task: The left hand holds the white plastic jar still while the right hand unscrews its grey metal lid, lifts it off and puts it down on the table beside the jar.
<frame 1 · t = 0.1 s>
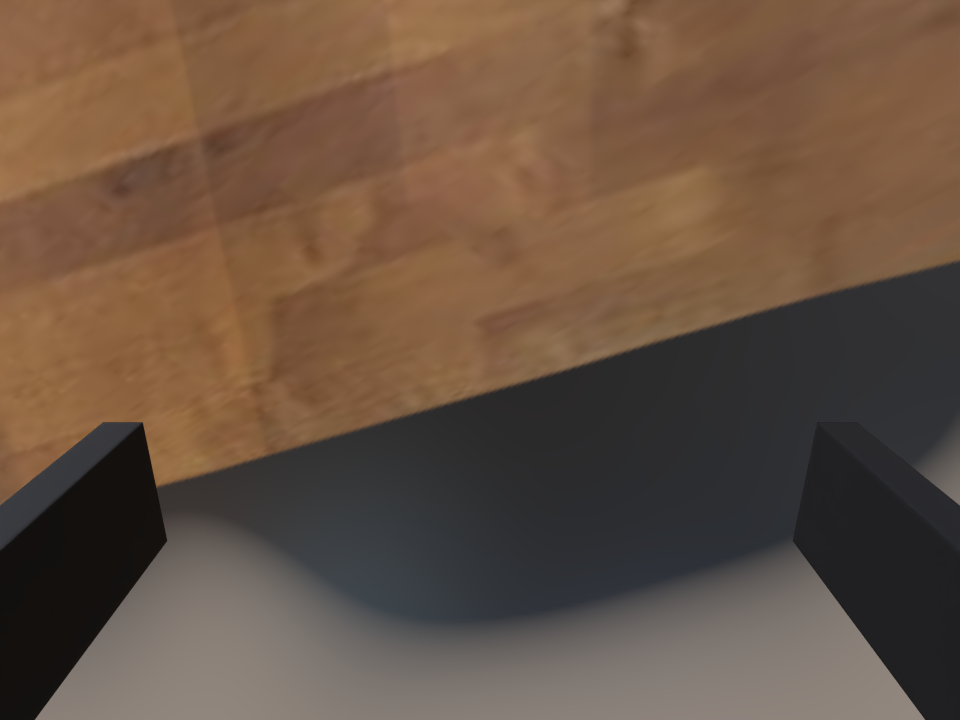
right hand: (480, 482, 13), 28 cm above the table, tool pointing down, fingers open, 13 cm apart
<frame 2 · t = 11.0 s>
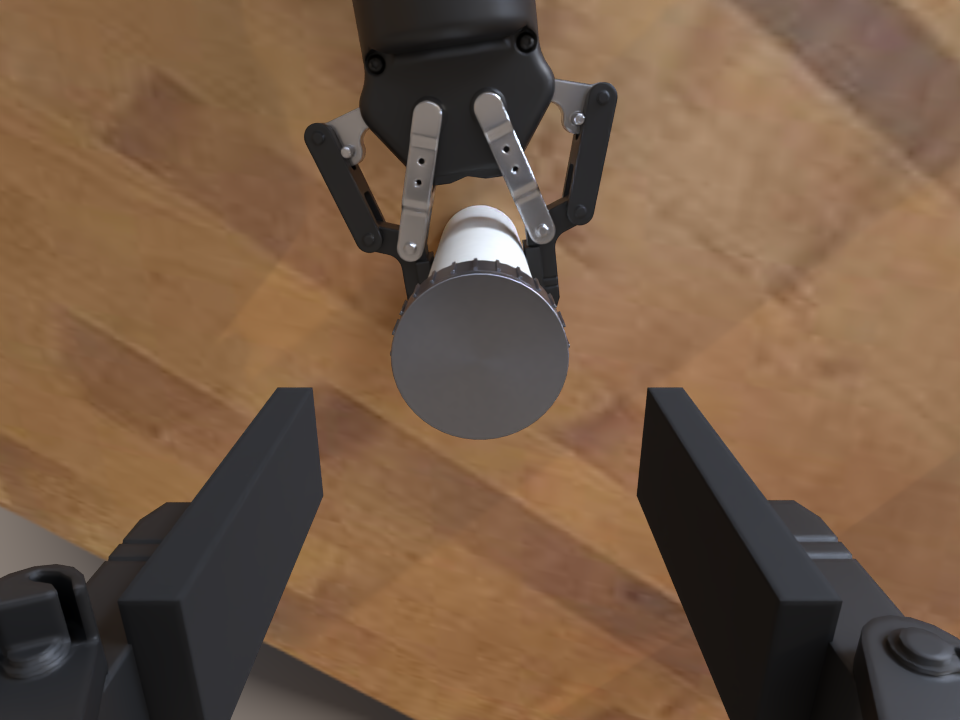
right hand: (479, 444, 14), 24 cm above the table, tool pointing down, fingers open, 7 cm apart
left hand: (487, 322, 32), fingers closed on jar, 4 cm apart
lid: (479, 356, 19), point 18 cm above the table, screwed on, not yet turned
jar: (480, 244, 37), on the table, touching left hand
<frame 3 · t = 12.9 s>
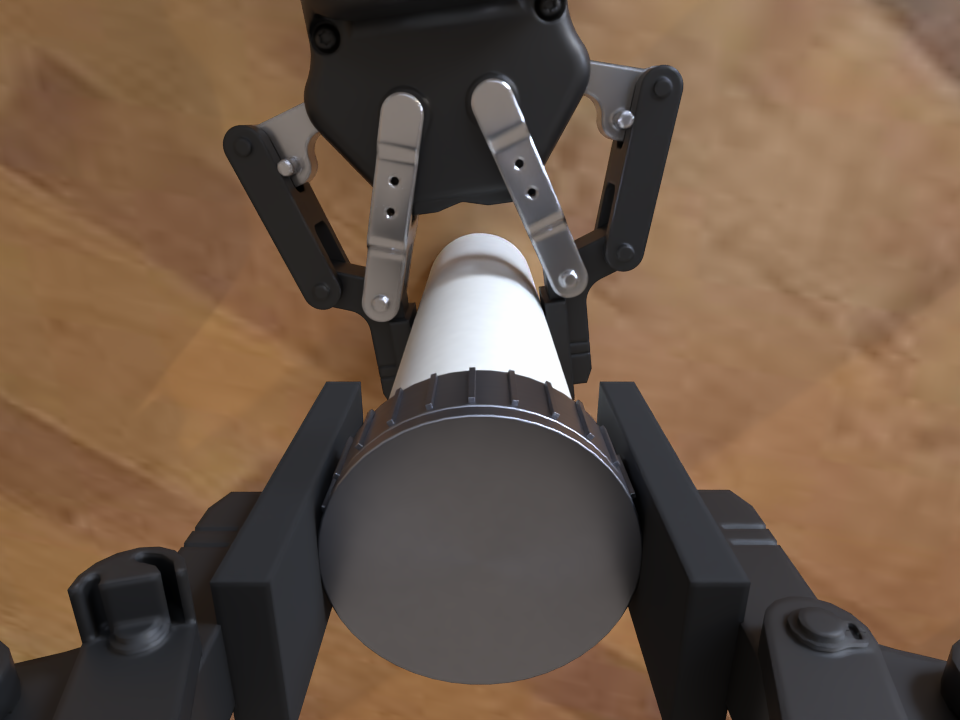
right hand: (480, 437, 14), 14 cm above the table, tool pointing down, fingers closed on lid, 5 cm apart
lid: (480, 549, 11), point 18 cm above the table, screwed on, not yet turned, touching right hand
jar: (480, 284, 28), on the table, touching left hand
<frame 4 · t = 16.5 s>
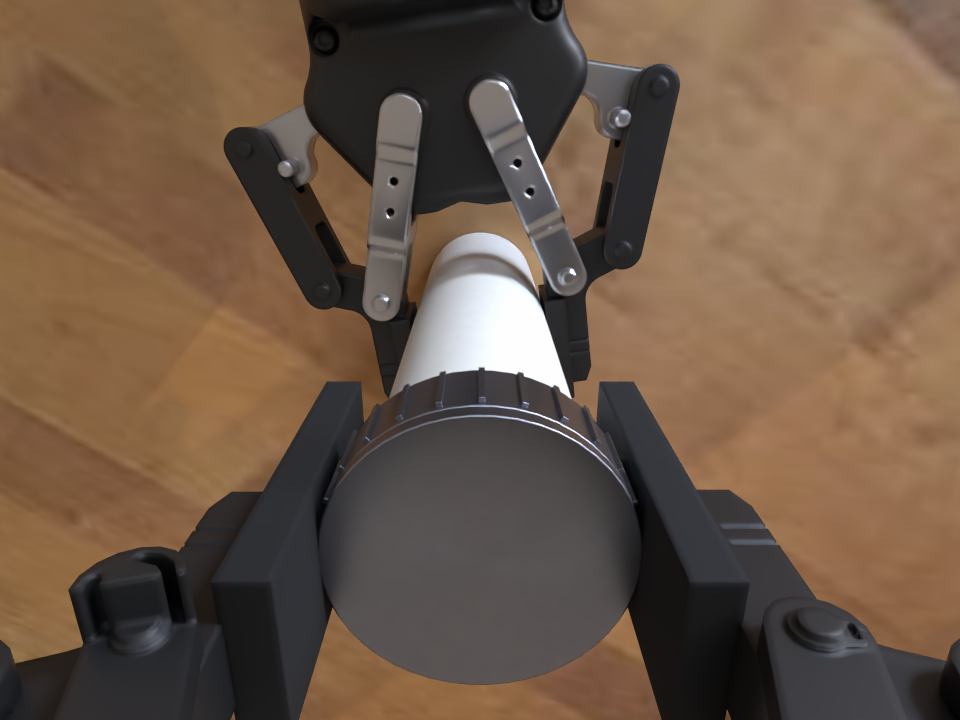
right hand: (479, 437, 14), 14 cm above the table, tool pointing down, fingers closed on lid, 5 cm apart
lid: (480, 549, 11), point 18 cm above the table, turned 111° so far, risen 0.2 cm, still on its thread, touching right hand
jar: (480, 283, 28), on the table, touching left hand
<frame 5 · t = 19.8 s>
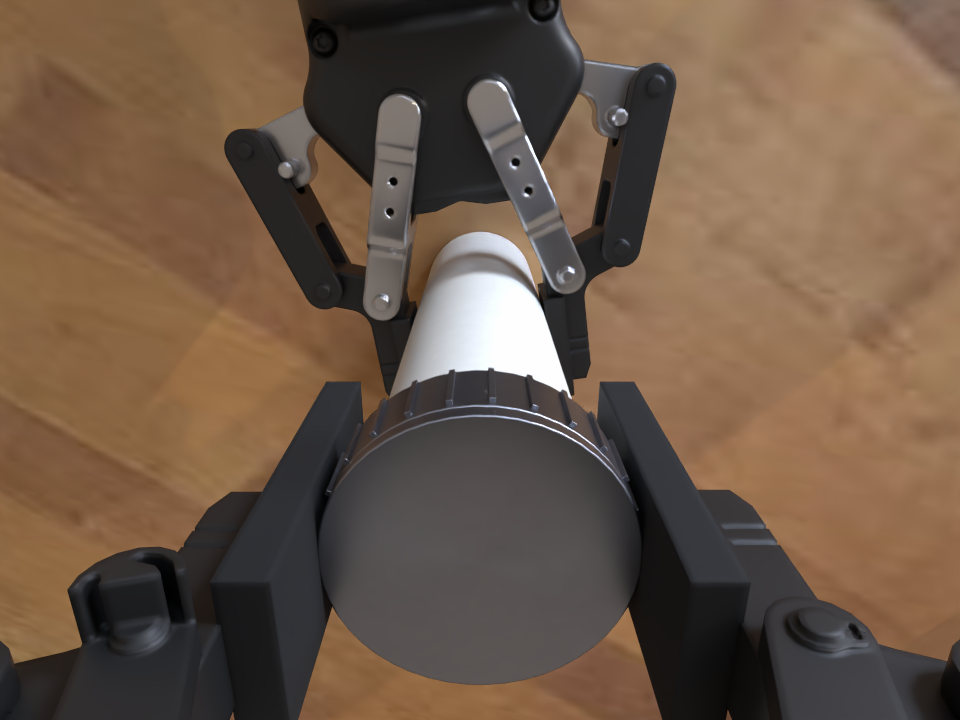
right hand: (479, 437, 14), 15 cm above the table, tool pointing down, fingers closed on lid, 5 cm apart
lid: (480, 549, 11), point 19 cm above the table, turned 223° so far, risen 0.3 cm, still on its thread, touching right hand
jar: (480, 282, 28), on the table, touching left hand
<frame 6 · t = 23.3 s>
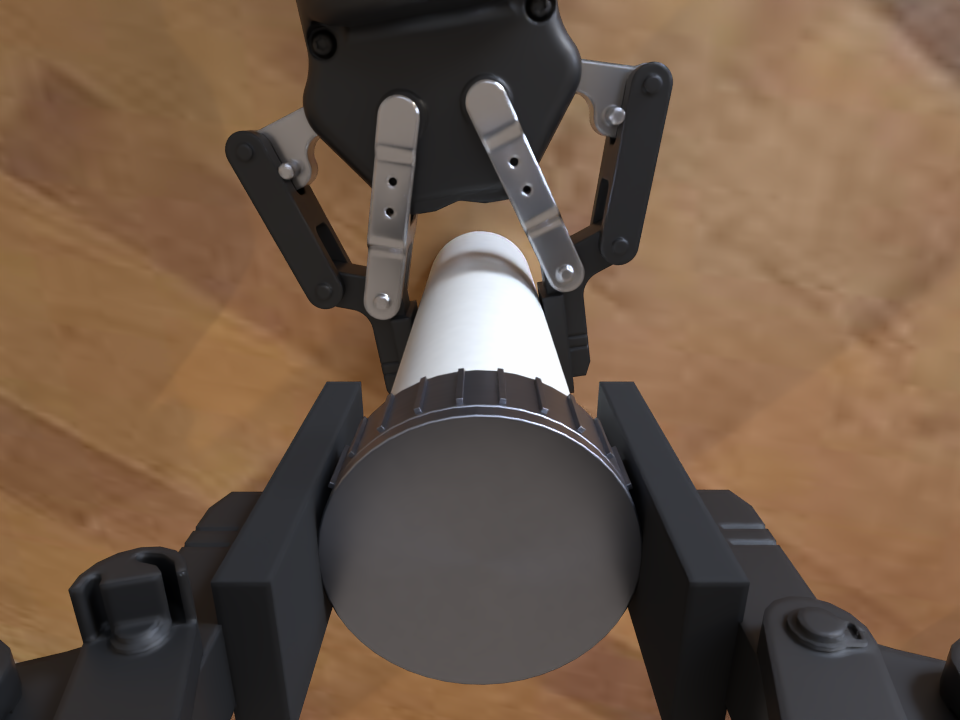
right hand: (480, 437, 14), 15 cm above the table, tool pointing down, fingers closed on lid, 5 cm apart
lid: (480, 549, 11), point 19 cm above the table, turned 334° so far, risen 0.5 cm, still on its thread, touching right hand
jar: (480, 281, 28), on the table, touching left hand
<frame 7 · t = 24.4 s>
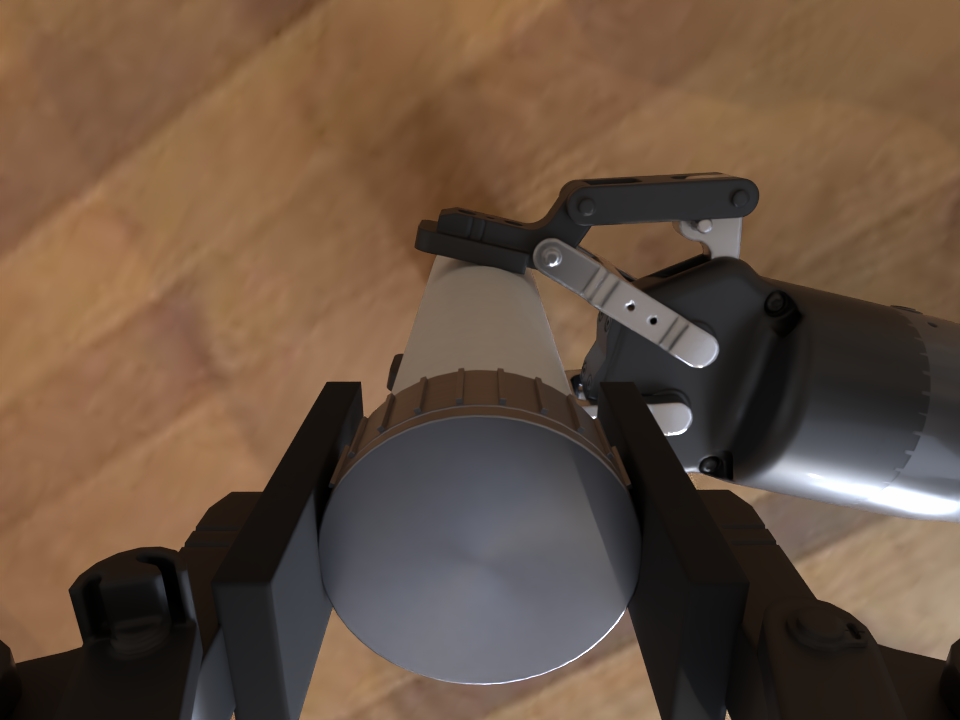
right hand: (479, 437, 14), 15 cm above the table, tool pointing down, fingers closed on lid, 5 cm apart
left hand: (406, 306, 22), fingers closed on jar, 4 cm apart
lid: (480, 548, 11), point 19 cm above the table, off its thread, touching right hand
jar: (481, 279, 28), on the table, touching left hand
when the right hand's fingers open (0 cm above the table, at t = 30.3 s): lid drops 3 cm, point 2 cm above the table.
when the left hand's fingers open (6 cm above the table, at t = 31.4 s): jar stays where it is, on the table.
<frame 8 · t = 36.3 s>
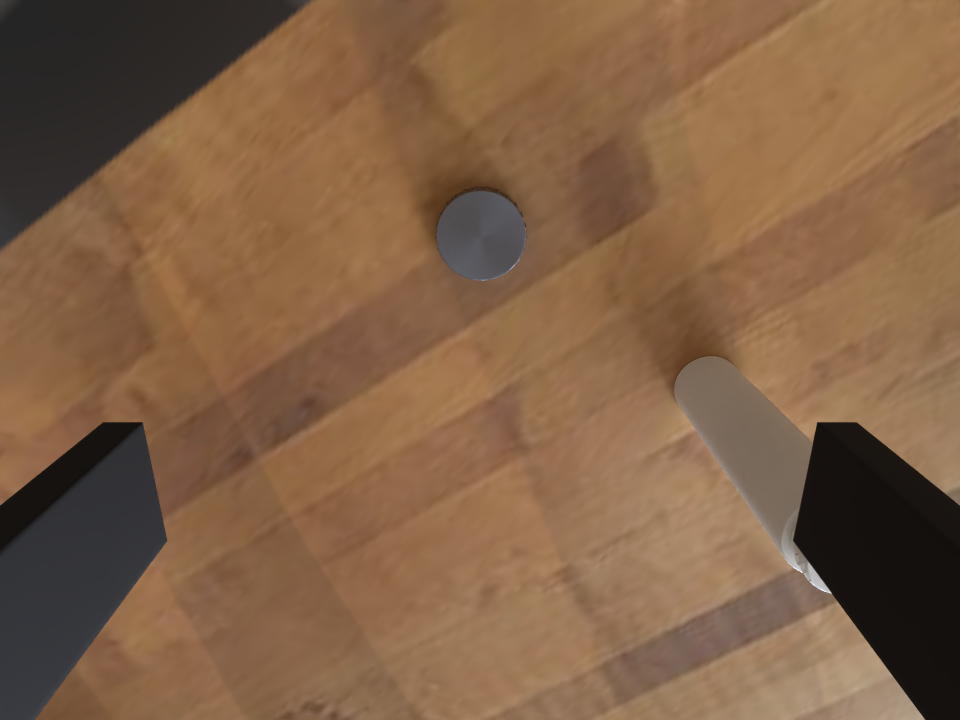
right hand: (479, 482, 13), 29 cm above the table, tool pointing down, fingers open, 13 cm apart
lid: (481, 235, 38), point 2 cm above the table, off its thread
jar: (706, 386, 43), on the table
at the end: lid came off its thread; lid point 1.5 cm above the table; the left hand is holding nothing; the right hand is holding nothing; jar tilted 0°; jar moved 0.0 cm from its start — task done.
